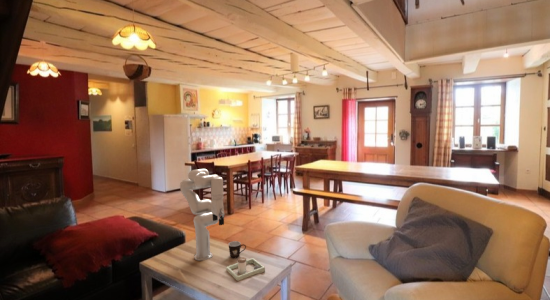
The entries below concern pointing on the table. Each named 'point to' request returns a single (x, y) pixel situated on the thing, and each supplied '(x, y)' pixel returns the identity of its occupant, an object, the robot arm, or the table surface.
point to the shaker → (242, 265)
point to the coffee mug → (235, 249)
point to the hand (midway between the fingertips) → (218, 222)
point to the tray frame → (249, 261)
